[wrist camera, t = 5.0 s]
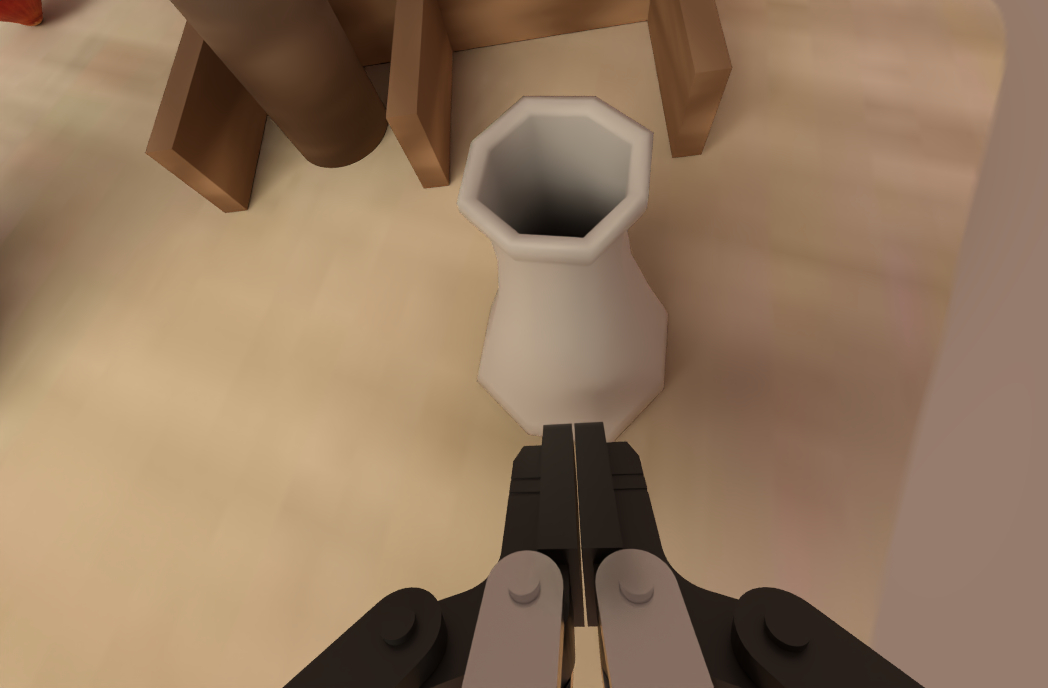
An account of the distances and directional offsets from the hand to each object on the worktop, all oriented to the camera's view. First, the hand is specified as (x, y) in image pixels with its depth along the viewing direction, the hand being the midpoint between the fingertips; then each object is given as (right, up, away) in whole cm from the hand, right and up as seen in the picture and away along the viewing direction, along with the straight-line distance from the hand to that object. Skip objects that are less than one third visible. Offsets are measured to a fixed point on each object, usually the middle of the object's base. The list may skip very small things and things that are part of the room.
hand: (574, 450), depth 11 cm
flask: (+1, +2, +6) cm, 6 cm away
